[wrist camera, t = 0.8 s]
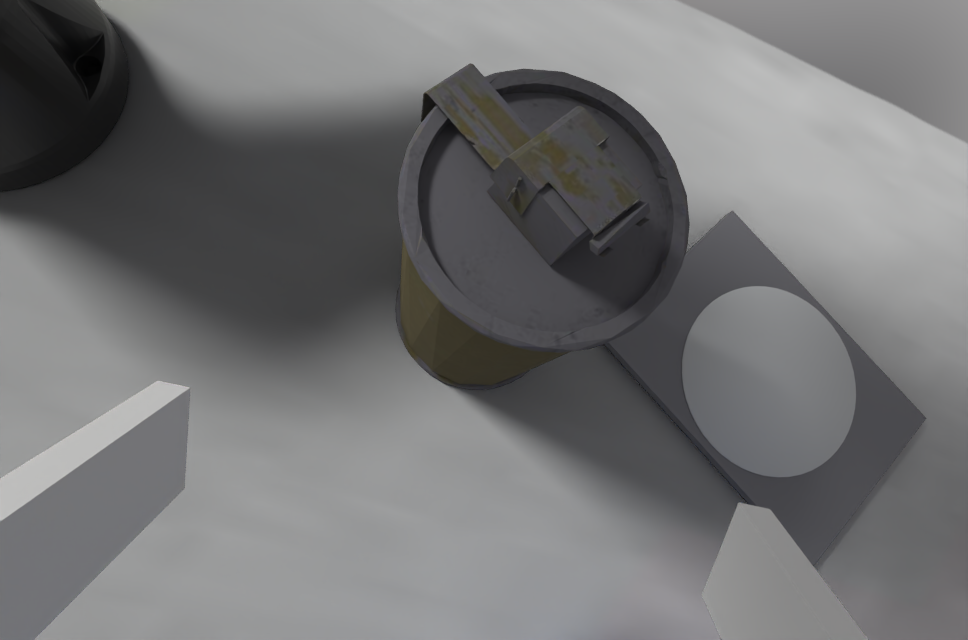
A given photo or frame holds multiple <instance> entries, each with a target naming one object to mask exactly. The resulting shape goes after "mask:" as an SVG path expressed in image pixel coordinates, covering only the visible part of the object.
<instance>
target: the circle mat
mask: <svg viewBox="0 0 968 640" xmlns="http://www.w3.org/2000/svg"><path fill="white" fill-rule="evenodd" d="M604 345H605V346H606V347H607V348H608V349H609V350H610V351H611V352H612V354H613V355H614V356H615V357H616V358H617V359H618V360H619V361H620V362H621V364H622V365H623V366H624V367H625V368H626V369H627V370H628V371H629V372H630V373H631V375H632V376H633V377H634V378H635V379H636V380H637V381H638V382H639V383H640V384H641V386H642V387H643V388H644V389H645V390H646V391H647V392H648V393H649V394H650V395H651V397H652V398H653V399H654V400H655V401H656V402H657V403H658V404H659V405H660V407H661V408H662V409H663V410H664V411H665V412H666V413H667V414H668V415H669V416H670V418H671V419H672V420H673V421H674V422H675V423H676V424H677V425H678V426H679V427H680V429H681V430H682V431H683V432H684V433H685V434H686V435H687V436H688V437H689V439H690V440H691V441H692V442H693V443H694V444H695V445H696V446H697V447H698V448H699V450H700V451H701V452H702V453H703V454H704V455H705V456H706V457H707V458H708V459H709V461H710V462H711V463H712V464H713V465H714V466H715V467H716V468H717V469H718V470H719V472H720V473H721V474H722V475H723V476H724V477H725V478H726V479H727V480H728V482H729V483H730V484H731V485H732V486H733V487H734V488H735V489H736V490H737V491H738V493H739V494H740V495H741V496H742V497H743V498H744V499H745V500H746V501H747V502H748V504H749V505H753V506H758V507H763V508H768V509H770V510H771V511H772V512H773V514H774V515H775V516H776V518H777V519H778V520H779V522H780V523H781V524H782V526H783V527H784V528H785V530H786V531H787V532H788V533H789V535H790V536H791V537H792V539H793V540H794V541H795V543H796V544H797V545H798V547H799V548H800V549H801V551H802V552H803V553H804V555H805V556H806V557H807V559H808V560H809V561H810V563H811V564H812V565H813V566H814V565H815V564H816V562H817V561H818V560H819V558H820V557H821V556H822V554H823V553H824V552H825V551H826V549H827V548H828V547H829V545H830V544H831V543H832V541H833V540H834V539H835V537H836V536H837V535H838V533H839V532H840V531H841V530H842V528H843V527H844V526H845V524H846V523H847V522H848V520H849V519H850V518H851V516H852V515H853V514H854V512H855V511H856V510H857V509H858V507H859V506H860V505H861V503H862V502H863V501H864V499H865V498H866V497H867V495H868V494H869V493H870V492H871V490H872V489H873V488H874V486H875V485H876V484H877V482H878V481H879V480H880V478H881V477H882V476H883V474H884V473H885V472H886V471H887V469H888V468H889V467H890V465H891V464H892V463H893V461H894V460H895V459H896V457H897V456H898V455H899V453H900V452H901V451H902V450H903V448H904V447H905V446H906V444H907V443H908V442H909V440H910V439H911V438H912V436H913V435H914V434H915V433H916V431H917V430H918V429H919V427H920V426H921V425H922V423H923V422H924V421H925V419H926V418H925V416H924V415H923V414H922V413H921V412H920V411H919V410H918V409H917V408H916V407H915V406H914V405H913V404H912V403H911V401H910V400H909V399H908V398H907V397H906V396H905V395H904V394H903V393H902V392H901V391H900V390H899V389H898V387H897V386H896V385H895V384H894V383H893V382H892V381H891V380H890V379H889V378H888V377H887V376H886V375H885V374H884V372H883V371H882V370H881V369H880V368H879V367H878V366H877V365H876V364H875V363H874V362H873V361H872V360H871V359H870V357H869V356H868V355H867V354H866V353H865V352H864V351H863V350H862V349H861V348H860V347H859V346H858V345H857V344H856V342H855V341H854V340H853V339H852V338H851V337H850V336H849V335H848V334H847V333H846V332H845V331H844V330H843V328H842V327H841V326H840V325H839V324H838V323H837V322H836V321H835V320H834V319H833V318H832V317H831V316H830V315H829V313H828V312H827V311H826V310H825V309H824V308H823V307H822V306H821V305H820V304H819V303H818V302H817V301H816V300H815V298H814V297H813V296H812V295H811V294H810V293H809V292H808V291H807V290H806V289H805V288H804V287H803V286H802V285H801V283H800V282H799V281H798V280H797V279H796V278H795V277H794V276H793V275H792V274H791V273H790V272H789V271H788V269H787V268H786V267H785V266H784V265H783V264H782V263H781V262H780V261H779V260H778V259H777V258H776V257H775V256H774V254H773V253H772V252H771V251H770V250H769V249H768V248H767V247H766V246H765V245H764V244H763V243H762V242H761V241H760V239H759V238H758V237H757V236H756V235H755V234H754V233H753V232H752V231H751V230H750V229H749V228H748V227H747V226H746V224H745V223H744V222H743V221H742V220H741V219H740V218H739V217H738V216H737V215H736V214H735V213H734V212H733V211H731V212H730V213H728V214H727V215H725V216H724V217H723V218H722V219H721V220H720V221H719V222H718V223H717V224H716V225H715V226H714V227H713V228H712V229H711V230H710V231H709V232H708V233H707V234H706V235H705V236H703V237H702V238H701V239H700V240H699V241H698V242H697V243H696V244H695V245H694V246H693V247H692V248H691V249H690V250H689V251H688V252H687V253H686V254H685V256H684V260H683V263H682V267H681V269H680V271H679V273H678V275H677V277H676V279H675V281H674V284H673V286H672V288H671V290H670V292H669V294H668V296H667V297H666V298H665V299H664V300H663V301H662V302H661V303H660V304H659V306H658V307H657V308H656V309H655V310H654V311H653V312H652V313H651V314H650V315H649V316H648V317H647V319H646V320H645V321H643V322H642V323H641V324H640V325H638V326H637V327H636V328H634V329H633V330H632V331H630V332H628V333H626V334H624V335H622V336H621V337H619V338H616V339H614V340H612V341H610V342H608V343H605V344H604Z"/></svg>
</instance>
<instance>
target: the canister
mask: <svg viewBox="0 0 968 640" xmlns="http://www.w3.org/2000/svg"><path fill="white" fill-rule="evenodd" d="M398 217H399V222H400V228H401V233H402V237H403V241H402V263H401V282H400V285H399V288H398V292H397V298H396V321H397V325H398V329H399V333H400V336H401V338H402V340H403V343H404V345H405V347H406V349H407V350H408V352H409V353H410V355H411V356H412V357H413V358H414V360H415V361H416V362H417V363H418V364H419V365H420V366H421V367H422V368H423V369H424V370H425V371H426V372H428V373H429V374H430V375H432V376H433V377H435V378H437V379H438V380H440V381H442V382H444V383H446V384H449V385H453V386H456V387H461V388H465V389H470V390H483V389H492V388H496V387H500V386H503V385H506V384H508V383H511V382H513V381H514V380H516V379H518V378H520V377H522V376H523V375H524V374H525V373H527V372H528V371H529V370H530V369H533V368H535V367H537V366H539V365H542V364H544V363H546V362H548V361H550V360H553V359H555V358H557V357H559V356H562V355H564V354H566V353H568V352H571V351H577V350H584V349H590V348H593V347H597V346H600V345H603V344H605V343H608V342H610V341H612V340H614V339H616V338H619V337H621V336H622V335H624V334H626V333H628V332H630V331H632V330H633V329H634V328H636V327H637V326H638V325H640V324H641V323H642V322H643V321H645V320H646V319H647V317H648V316H649V315H650V314H651V313H652V312H653V311H654V310H655V309H656V308H657V307H658V306H659V304H660V303H661V302H662V301H663V300H664V299H665V298H666V297H667V296H668V294H669V292H670V290H671V288H672V286H673V284H674V281H675V279H676V277H677V275H678V273H679V271H680V269H681V267H682V263H683V260H684V256H685V253H686V249H687V243H688V233H689V215H688V205H687V195H686V192H685V189H684V186H683V183H682V180H681V177H680V175H679V172H678V169H677V166H676V163H675V161H674V159H673V158H672V156H671V154H670V152H669V151H668V149H667V147H666V145H665V143H664V142H663V140H662V138H661V136H660V135H659V134H658V133H657V131H656V130H655V129H654V128H653V127H652V126H651V125H650V123H649V122H648V121H647V120H646V119H645V118H644V117H643V116H642V115H641V114H640V113H639V112H638V111H637V110H636V109H635V108H633V107H632V106H631V105H630V104H628V103H627V102H626V101H624V100H623V99H622V98H620V97H619V96H617V95H616V94H615V93H613V92H611V91H609V90H607V89H605V88H603V87H601V86H599V85H597V84H595V83H593V82H590V81H587V80H584V79H582V78H579V77H576V76H573V75H570V74H568V73H565V72H558V71H545V70H533V69H519V70H512V71H505V72H499V73H494V74H492V75H489V76H486V77H484V76H483V75H482V74H481V73H480V72H479V70H478V69H477V68H476V67H475V66H474V65H473V64H469V65H467V66H466V67H464V68H462V69H461V70H459V71H458V72H456V73H455V74H453V75H452V76H450V77H448V78H447V79H445V80H444V81H442V82H441V83H439V84H438V85H436V86H434V87H433V88H431V89H430V90H428V91H427V92H425V93H424V95H423V107H422V118H421V124H420V125H419V126H418V128H417V130H416V132H415V133H414V135H413V137H412V139H411V141H410V143H409V144H408V146H407V150H406V153H405V157H404V160H403V163H402V167H401V170H400V176H399V184H398Z"/></svg>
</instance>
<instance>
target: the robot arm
mask: <svg viewBox="0 0 968 640" xmlns="http://www.w3.org/2000/svg"><path fill="white" fill-rule="evenodd" d="M128 79H129V73H128V63H127V58H126V54H125V50H124V48H123V45H122V42H121V40H120V38H119V36H118V34H117V33H116V31H115V29H114V28H113V26H112V25H111V23H110V22H109V20H108V19H107V18H106V16H105V15H104V13H103V12H102V10H101V9H100V8H99V6H98V5H97V3H96V2H95V0H0V191H6V190H13V189H18V188H22V187H26V186H30V185H34V184H37V183H39V182H42V181H45V180H47V179H50V178H52V177H55V176H57V175H59V174H61V173H63V172H64V171H66V170H68V169H70V168H71V167H73V166H74V165H76V164H77V163H79V162H80V161H82V160H83V159H84V158H86V157H87V156H88V155H89V154H90V153H92V152H93V151H94V150H95V149H96V148H97V147H98V146H99V145H100V144H101V143H102V142H103V140H104V139H105V138H106V137H107V136H108V134H109V133H110V131H111V130H112V128H113V127H114V125H115V124H116V122H117V120H118V118H119V116H120V114H121V111H122V109H123V106H124V103H125V100H126V95H127V90H128ZM189 401H190V387H186V386H181V385H176V384H171V383H167V382H162V381H156V382H155V383H153V384H152V385H150V386H148V387H147V388H145V389H143V390H142V391H140V392H139V393H137V394H135V395H134V396H132V397H131V398H129V399H127V400H126V401H124V402H123V403H121V404H119V405H118V406H116V407H115V408H113V409H111V410H110V411H108V412H106V413H105V414H103V415H102V416H100V417H98V418H97V419H95V420H94V421H92V422H90V423H89V424H87V425H86V426H84V427H82V428H81V429H79V430H77V431H76V432H74V433H73V434H71V435H69V436H68V437H66V438H65V439H63V440H61V441H60V442H58V443H57V444H55V445H53V446H52V447H50V448H49V449H47V450H45V451H44V452H42V453H40V454H39V455H37V456H36V457H34V458H32V459H31V460H29V461H28V462H26V463H24V464H23V465H21V466H20V467H18V468H16V469H15V470H13V471H11V472H10V473H8V474H7V475H5V476H3V477H2V478H0V640H34V639H35V638H36V637H37V636H38V635H39V634H40V633H41V632H42V631H43V630H44V629H45V628H46V627H47V626H48V625H49V624H50V623H51V622H52V621H53V620H54V619H55V618H56V617H57V616H58V615H59V614H60V613H61V612H62V611H63V610H64V609H65V608H66V607H67V606H68V605H69V604H70V603H71V602H72V601H73V600H74V599H75V598H76V597H77V596H78V595H79V594H80V593H81V592H82V591H83V590H84V589H85V588H86V587H87V586H88V585H89V584H90V583H91V582H92V581H93V580H94V579H95V578H96V577H97V576H98V575H99V574H100V573H101V572H102V571H103V570H104V569H105V568H106V567H107V566H108V565H109V564H110V563H111V562H112V561H113V560H114V559H115V558H116V557H117V556H118V555H119V554H120V553H121V552H122V551H123V550H124V549H125V548H126V547H127V546H128V545H129V544H130V543H131V542H132V541H133V540H134V539H135V538H136V537H137V536H138V535H139V534H140V533H141V532H142V531H143V530H144V528H145V527H146V526H147V525H148V524H149V523H150V522H151V521H152V520H153V519H154V518H155V517H156V516H157V515H158V514H159V513H160V512H161V511H162V510H163V509H164V508H165V507H166V506H167V505H168V504H169V503H170V502H171V501H172V500H173V499H174V498H175V497H176V496H177V495H178V494H179V493H180V492H181V491H182V490H183V489H184V488H185V471H186V453H187V436H188V419H189ZM702 597H703V600H704V602H705V604H706V606H707V609H708V611H709V613H710V615H711V618H712V620H713V622H714V624H715V627H716V629H717V631H718V633H719V636H720V638H721V640H868V638H867V637H866V636H865V634H864V633H863V632H862V630H861V629H860V628H859V626H858V625H857V624H856V622H855V621H854V620H853V618H852V617H851V616H850V614H849V613H848V612H847V610H846V609H845V608H844V606H843V605H842V604H841V602H840V601H839V600H838V598H837V597H836V596H835V595H834V593H833V592H832V591H831V589H830V588H829V587H828V585H827V584H826V583H825V581H824V580H823V579H822V577H821V576H820V575H819V573H818V572H817V571H816V569H815V568H814V567H813V565H812V564H811V563H810V561H809V560H808V559H807V557H806V556H805V555H804V553H803V552H802V551H801V549H800V548H799V547H798V545H797V544H796V543H795V541H794V540H793V539H792V537H791V536H790V535H789V533H788V532H787V531H786V530H785V528H784V527H783V526H782V524H781V523H780V522H779V520H778V519H777V518H776V516H775V515H774V514H773V512H772V511H771V510H770V509H768V508H763V507H758V506H753V505H749V504H744V503H738V505H737V508H736V510H735V513H734V515H733V518H732V520H731V523H730V525H729V528H728V530H727V533H726V535H725V538H724V540H723V543H722V545H721V548H720V550H719V553H718V555H717V558H716V560H715V563H714V565H713V568H712V570H711V573H710V575H709V578H708V580H707V583H706V585H705V588H704V590H703V593H702Z"/></svg>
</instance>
